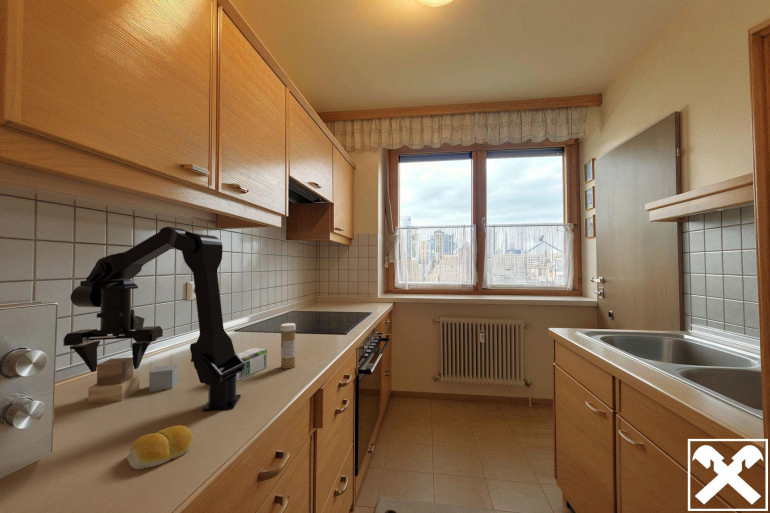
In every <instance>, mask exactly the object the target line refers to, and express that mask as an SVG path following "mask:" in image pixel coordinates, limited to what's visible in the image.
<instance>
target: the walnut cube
mask: <svg viewBox="0 0 770 513" xmlns="http://www.w3.org/2000/svg"><path fill="white" fill-rule="evenodd" d="M133 375H134V366H133V356H132V357H131V356H130V357H117V358H116V357H115V358H110V359H107V360H104V361H103V362H100V363H97V370H96V384H97V386H101V385H113V384H122V383H123V382H125V381H127V380H128V379H130V378H132V377H133Z"/></svg>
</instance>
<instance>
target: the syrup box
mask: <svg viewBox="0 0 770 513" xmlns="http://www.w3.org/2000/svg"><path fill="white" fill-rule="evenodd" d="M236 354H237V355H238V356H239V357H240V358H241V359H242V360H243V362H244V363H245V366H244V369H243V371H242V372H239V373H237V374H236V382H238V381H240V380H242V379H245V378H246V377H248V376H250V375H253V374H256V372H259V371H261V370H263V369H266V368H267V367H268V350H267V349H266V348H265V349H264V348H253V347H252V348H249V349H247V350H244V351H242V352H239V353H238V352H237V353H236ZM222 369H224V367H223V368H221V369H219V371H220V370H222Z"/></svg>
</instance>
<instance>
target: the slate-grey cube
mask: <svg viewBox="0 0 770 513" xmlns="http://www.w3.org/2000/svg"><path fill="white" fill-rule="evenodd" d="M148 377H149V379H148V380H149V385H148V387H149V388H148V390H149V391H148V392H149V393H150V392H151V391H152V392H158V391H157V390H159V391H164V390H163V389H167V390H172V388H173V389H174V387H175V386H176V385H177V383H178V364H177V363H176V364H168V365H160V366H155V367H154V368H152V370H150V371H149V376H148ZM175 384H176V385H175Z"/></svg>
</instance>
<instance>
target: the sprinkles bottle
mask: <svg viewBox="0 0 770 513" xmlns="http://www.w3.org/2000/svg"><path fill="white" fill-rule="evenodd" d="M280 335H281V336H280V357H281V358H280V363H281V364H280V368H281V369H292V368H294V367H296V323H294V322H287V323H282V324H280Z"/></svg>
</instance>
